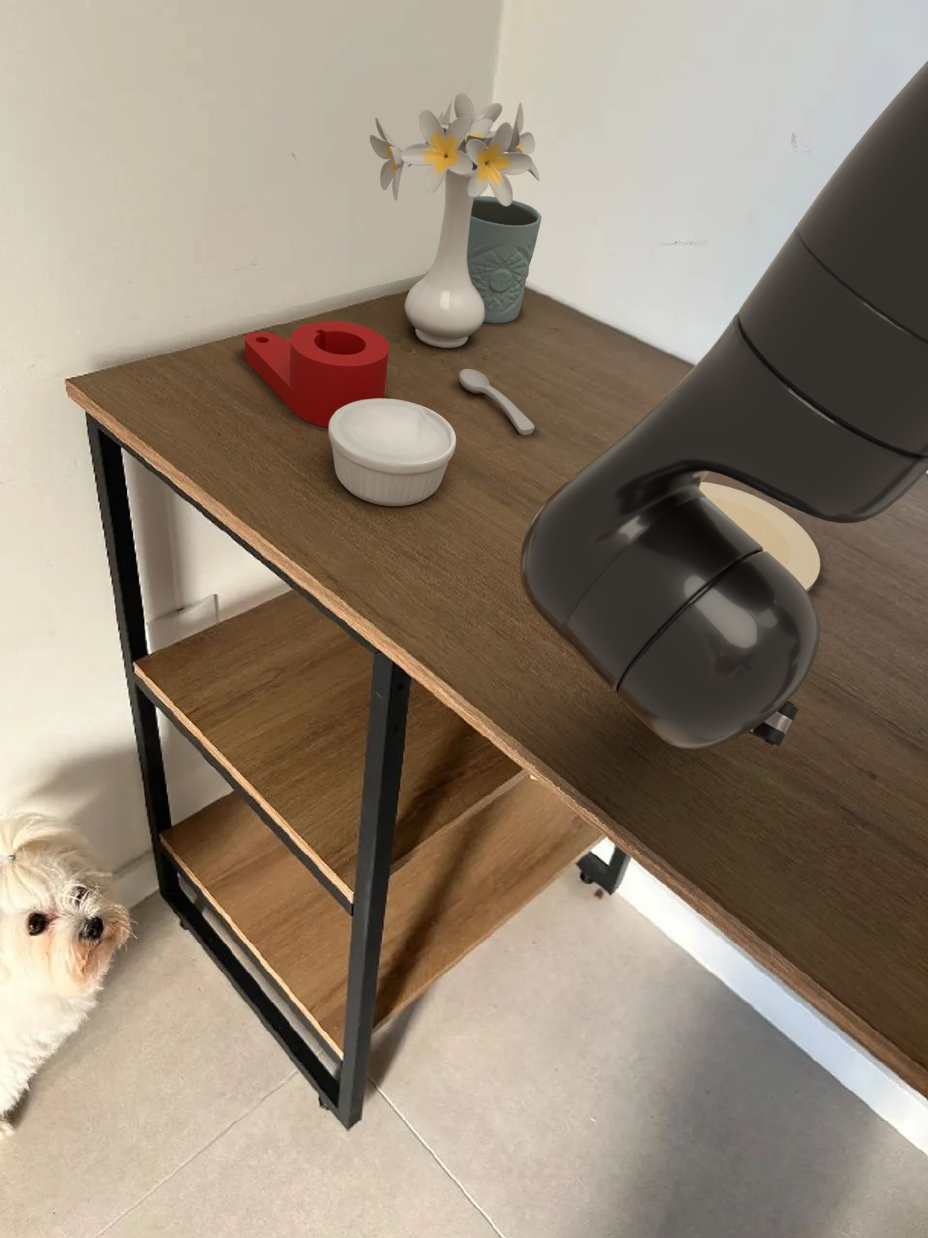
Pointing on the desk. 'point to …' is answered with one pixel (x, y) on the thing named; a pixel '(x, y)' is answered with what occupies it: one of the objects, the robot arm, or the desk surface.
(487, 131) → the flower vase
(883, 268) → the robot arm
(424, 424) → the ramekin
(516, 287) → the drinking glass
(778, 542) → the plate
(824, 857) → the desk surface
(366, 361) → the lever
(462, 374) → the spoon
